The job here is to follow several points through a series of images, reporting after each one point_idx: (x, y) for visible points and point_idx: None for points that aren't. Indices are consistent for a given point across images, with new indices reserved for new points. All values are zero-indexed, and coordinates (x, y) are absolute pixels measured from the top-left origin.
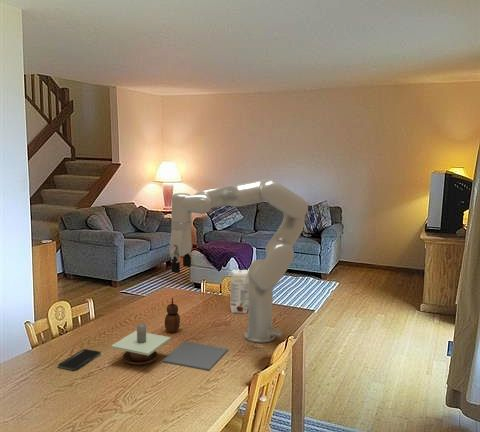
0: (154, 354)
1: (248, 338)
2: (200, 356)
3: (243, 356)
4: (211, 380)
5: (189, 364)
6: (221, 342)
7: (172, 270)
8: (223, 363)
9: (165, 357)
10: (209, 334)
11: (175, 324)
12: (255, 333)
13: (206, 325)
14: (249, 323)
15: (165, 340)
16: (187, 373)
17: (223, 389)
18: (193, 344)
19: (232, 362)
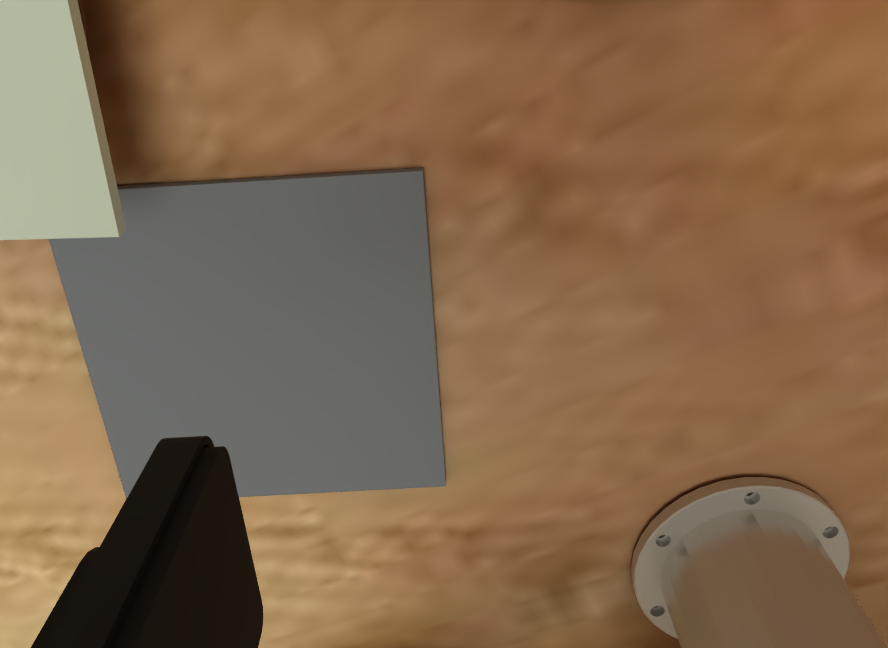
0: None
1: (647, 538)
2: (247, 392)
3: (408, 575)
4: (45, 546)
5: (105, 384)
6: (551, 396)
7: (159, 485)
8: (263, 522)
9: None
10: (665, 261)
11: None
12: (670, 598)
13: (860, 147)
14: (715, 601)
15: (33, 231)
16: (23, 411)
17: (8, 621)
18: (402, 260)
19: (302, 555)
